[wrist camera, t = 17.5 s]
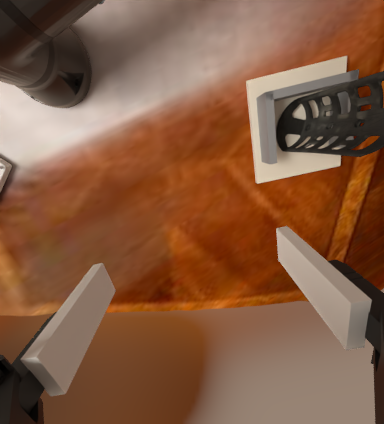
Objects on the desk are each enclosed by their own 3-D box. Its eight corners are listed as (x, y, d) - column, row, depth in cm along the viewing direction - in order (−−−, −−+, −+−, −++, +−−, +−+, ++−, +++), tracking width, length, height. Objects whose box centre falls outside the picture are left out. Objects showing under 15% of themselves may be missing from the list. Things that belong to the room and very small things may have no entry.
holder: (281, 96, 39) (379, 59, 21) (314, 97, 40) (437, 63, 22) (272, 151, 44) (348, 161, 25) (302, 151, 44) (398, 161, 26)
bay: (246, 82, 40) (255, 72, 34) (343, 57, 38) (369, 43, 33) (255, 182, 47) (265, 188, 42) (337, 165, 46) (357, 168, 40)
